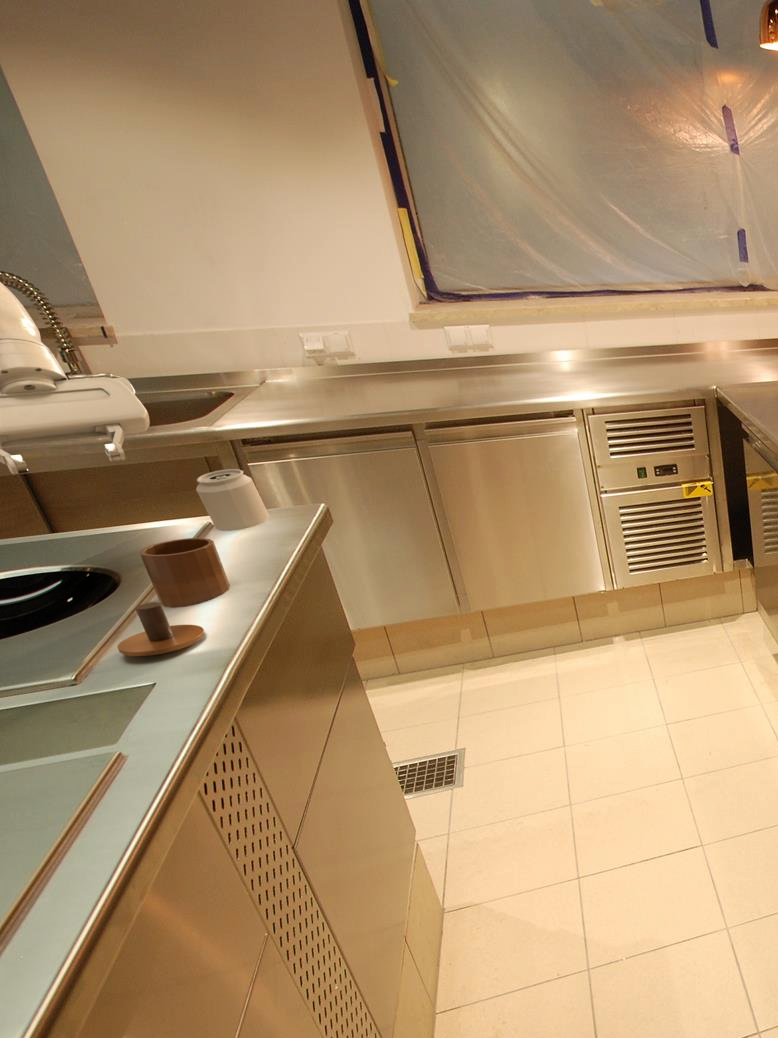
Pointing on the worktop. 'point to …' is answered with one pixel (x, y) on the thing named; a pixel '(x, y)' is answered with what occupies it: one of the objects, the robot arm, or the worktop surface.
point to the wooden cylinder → (185, 571)
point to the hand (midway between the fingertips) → (70, 464)
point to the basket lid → (158, 634)
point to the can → (231, 500)
